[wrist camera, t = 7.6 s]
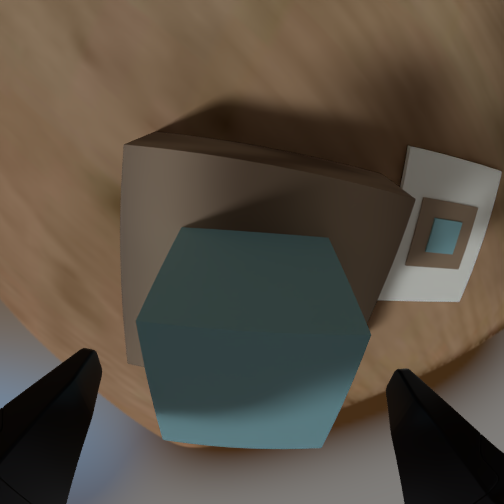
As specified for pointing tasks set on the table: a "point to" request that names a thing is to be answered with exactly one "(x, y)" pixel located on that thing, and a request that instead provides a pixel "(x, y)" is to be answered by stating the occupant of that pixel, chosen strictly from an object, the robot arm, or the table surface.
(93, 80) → the table surface
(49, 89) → the table surface
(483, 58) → the table surface
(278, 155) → the walnut block
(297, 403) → the teal cube
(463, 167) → the card
